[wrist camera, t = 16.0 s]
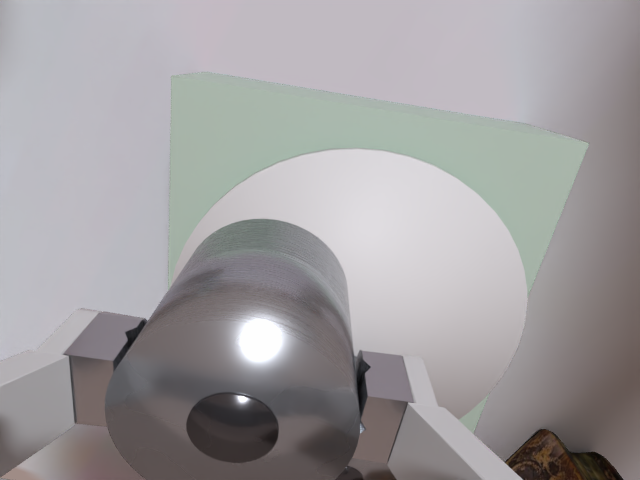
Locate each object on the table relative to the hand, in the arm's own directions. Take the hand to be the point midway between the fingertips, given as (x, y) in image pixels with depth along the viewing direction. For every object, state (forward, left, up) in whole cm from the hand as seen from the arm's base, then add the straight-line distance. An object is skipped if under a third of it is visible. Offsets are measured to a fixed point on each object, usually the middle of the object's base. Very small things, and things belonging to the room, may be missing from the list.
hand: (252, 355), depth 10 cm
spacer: (0, 0, -3) cm, 3 cm away
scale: (-4, +5, -16) cm, 17 cm away
